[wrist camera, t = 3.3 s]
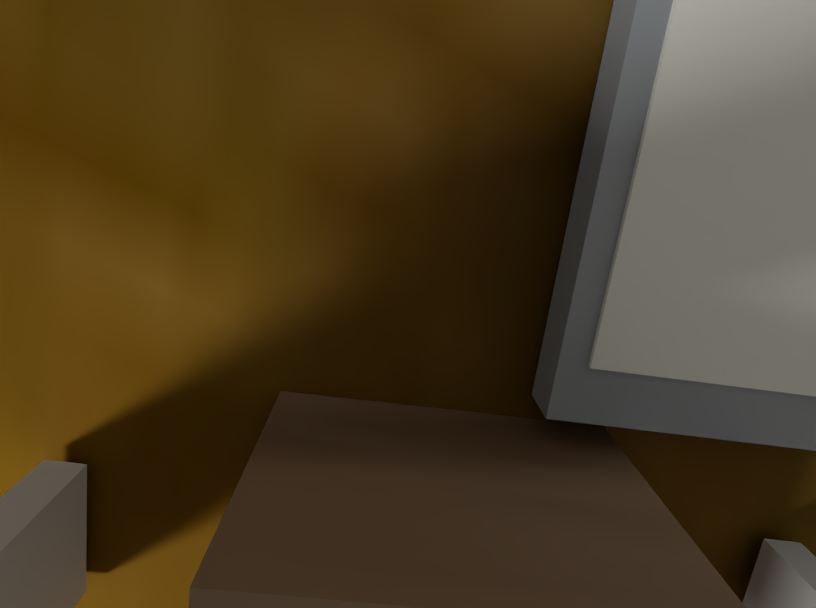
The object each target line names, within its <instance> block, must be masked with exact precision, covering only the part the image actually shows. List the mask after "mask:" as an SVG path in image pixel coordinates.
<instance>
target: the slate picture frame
mask: <svg viewBox="0 0 816 608" xmlns="http://www.w3.org/2000/svg"><path fill="white" fill-rule="evenodd" d="M532 396H533V398H534V399H535V401H536V403H537V404H538V406H539V408H540V410H541V411H542V413H543V415H544V416H545V418H546V419H552V420H561V421H569V422H578V423H586V424H595V425H603V426H611V427H620V428H628V429H637V430H645V431H653V432H662V433H670V434H679V435H687V436H696V437H704V438H712V439H721V440H729V441H738V442H746V443H754V444H763V445H771V446H780V447H788V448H796V449H805V450H813V451H816V0H614V3H613V8H612V12H611V17H610V22H609V27H608V32H607V36H606V41H605V46H604V51H603V55H602V60H601V65H600V70H599V75H598V79H597V84H596V89H595V94H594V98H593V103H592V108H591V113H590V118H589V122H588V127H587V132H586V137H585V141H584V146H583V151H582V156H581V161H580V165H579V170H578V175H577V180H576V185H575V189H574V194H573V199H572V204H571V208H570V213H569V218H568V223H567V228H566V232H565V237H564V242H563V247H562V251H561V256H560V261H559V266H558V271H557V275H556V280H555V285H554V290H553V294H552V299H551V304H550V309H549V314H548V318H547V323H546V328H545V333H544V337H543V342H542V347H541V352H540V357H539V361H538V366H537V371H536V376H535V381H534V385H533V390H532Z"/></svg>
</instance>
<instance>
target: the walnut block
mask: <svg viewBox="0 0 816 608" xmlns="http://www.w3.org/2000/svg"><path fill="white" fill-rule="evenodd" d="M189 608H746V607H745V606H744V604H743V603H742V602H741V601H740V599H739V598H738V597H737V596H736V594H735V593H734V592H733V591H732V589H731V588H730V587H729V585H728V584H727V583H726V582H725V580H724V579H723V578H722V577H721V575H720V574H719V573H718V571H717V570H716V569H715V568H714V566H713V565H712V564H711V563H710V561H709V560H708V559H707V557H706V556H705V555H704V554H703V552H702V551H701V550H700V549H699V547H698V546H697V545H696V544H695V542H694V541H693V540H692V538H691V537H690V536H689V535H688V533H687V532H686V531H685V530H684V528H683V527H682V526H681V524H680V523H679V522H678V521H677V519H676V518H675V517H674V516H673V514H672V513H671V512H670V511H669V509H668V508H667V507H666V505H665V504H664V503H663V502H662V500H661V499H660V498H659V497H658V495H657V494H656V493H655V491H654V490H653V489H652V488H651V486H650V485H649V484H648V483H647V481H646V480H645V479H644V478H643V476H642V475H641V474H640V472H639V471H638V470H637V469H636V467H635V466H634V465H633V464H632V462H631V461H630V460H629V458H628V457H627V456H626V455H625V453H624V452H623V451H622V450H621V448H620V447H619V446H618V445H617V443H616V442H615V441H614V439H613V438H612V437H611V436H610V434H609V433H608V432H607V431H606V429H605V428H604V427H603V426H600V425H591V424H582V423H572V422H563V421H554V420H545V419H536V418H526V417H517V416H508V415H499V414H490V413H480V412H471V411H462V410H453V409H443V408H434V407H425V406H416V405H407V404H397V403H388V402H379V401H370V400H361V399H351V398H342V397H333V396H324V395H315V394H305V393H296V392H287V391H280V393H279V395H278V398H277V400H276V402H275V404H274V406H273V408H272V411H271V413H270V415H269V417H268V419H267V421H266V424H265V426H264V428H263V430H262V432H261V435H260V437H259V439H258V441H257V443H256V445H255V448H254V450H253V452H252V454H251V456H250V458H249V461H248V463H247V465H246V467H245V469H244V471H243V474H242V476H241V478H240V480H239V482H238V484H237V487H236V489H235V491H234V493H233V495H232V497H231V500H230V502H229V504H228V506H227V508H226V510H225V513H224V515H223V517H222V519H221V521H220V523H219V526H218V528H217V530H216V532H215V534H214V536H213V539H212V541H211V543H210V545H209V547H208V549H207V552H206V554H205V556H204V558H203V560H202V562H201V565H200V567H199V569H198V571H197V573H196V575H195V578H194V580H193V582H192V584H191V586H190V597H189Z"/></svg>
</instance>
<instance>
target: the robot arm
mask: <svg viewBox="0 0 816 608" xmlns="http://www.w3.org/2000/svg"><path fill="white" fill-rule="evenodd" d="M86 541H87V464H81V463H71V462H62V461H53V460H43V461H42V462H41V463H40V464H39V465H37V466H36V467H35V468H34V469H33V470H32V471H31V472H29V473H28V474H27V475H26V476H25V477H24V478H22V479H21V480H20V481H19V482H18V483H17V484H16V485H14V486H13V487H12V488H11V489H10V490H9V491H7V492H6V493H5V494H4V495H3V496H2V497H1V498H0V608H74V607H75V605H76V604H77V602H78V601H79V600H80V598H81V597H82V595H83V594H84V593H85V591H86ZM743 604H744V606H745V607H746V608H816V557H815V556H814V555H813V554H812V553H811V552H810V551H809V550H808V549H807V548H806V547H805V546H804V545H803V544H802V543H801V542H792V541H782V540H773V539H764V540H763V543H762V546H761V549H760V552H759V555H758V558H757V561H756V564H755V567H754V570H753V573H752V576H751V579H750V582H749V585H748V588H747V591H746V594H745V597H744V600H743Z"/></svg>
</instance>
